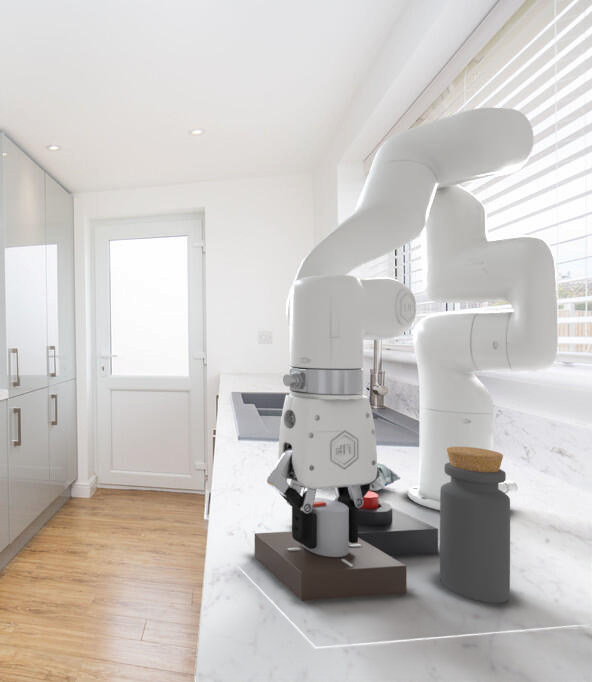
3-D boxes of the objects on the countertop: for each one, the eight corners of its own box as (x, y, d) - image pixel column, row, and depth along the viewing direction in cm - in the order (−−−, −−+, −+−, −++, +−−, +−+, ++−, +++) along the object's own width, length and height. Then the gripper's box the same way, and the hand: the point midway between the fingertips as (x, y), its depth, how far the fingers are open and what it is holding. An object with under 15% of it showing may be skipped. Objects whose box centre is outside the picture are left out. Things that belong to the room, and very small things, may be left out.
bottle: (426, 576, 54) (427, 445, 54) (473, 574, 55) (474, 444, 55) (473, 605, 48) (473, 458, 48) (525, 602, 49) (526, 457, 49)
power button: (365, 501, 66) (365, 488, 66) (385, 510, 62) (385, 496, 62) (341, 502, 66) (341, 489, 66) (360, 511, 62) (360, 498, 62)
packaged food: (384, 500, 80) (384, 471, 80) (312, 484, 89) (312, 457, 89) (401, 490, 85) (401, 462, 85) (331, 476, 94) (331, 451, 94)
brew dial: (325, 537, 58) (325, 493, 58) (358, 554, 53) (359, 507, 53) (292, 541, 56) (292, 497, 56) (323, 559, 52) (323, 511, 52)
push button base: (378, 523, 70) (379, 489, 70) (438, 554, 60) (438, 514, 60) (296, 527, 68) (296, 493, 68) (343, 559, 58) (343, 519, 58)
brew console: (343, 552, 60) (343, 527, 60) (406, 593, 51) (406, 564, 50) (254, 557, 59) (254, 531, 59) (301, 601, 49) (301, 570, 49)
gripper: (283, 388, 49) (283, 565, 49) (413, 384, 53) (413, 546, 53) (241, 382, 56) (240, 535, 56) (358, 379, 60) (358, 521, 61)
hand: (324, 539), depth 55 cm, fingers closed on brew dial, 4 cm apart
